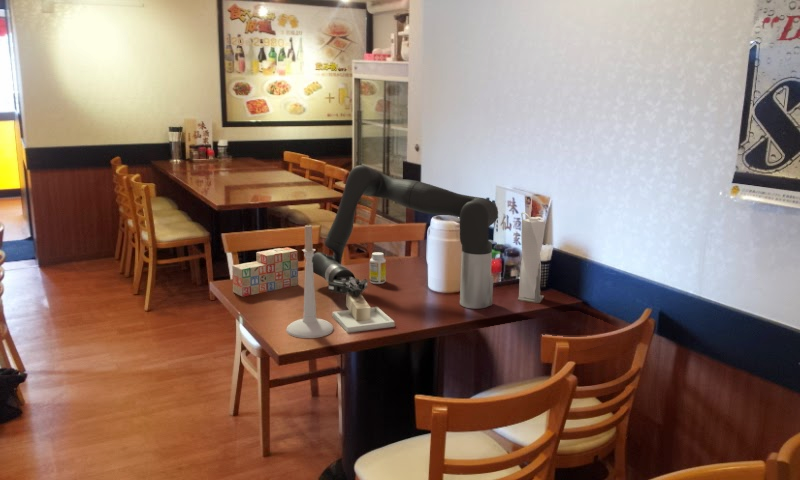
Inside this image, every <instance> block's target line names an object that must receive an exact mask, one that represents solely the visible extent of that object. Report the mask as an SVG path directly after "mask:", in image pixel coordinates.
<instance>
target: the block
mask: <svg viewBox="0 0 800 480" xmlns="http://www.w3.org/2000/svg"><path fill="white" fill-rule="evenodd" d="M345 299H346V300H345V307H346V308H347V310H349V311H350V312H351V314H352V315H353V317H354V318H355V320H356V321H364V320H370V307H371V306H370V305H369V303H368V302H367V301H366V299H365V297H364V296H363V294H361V295H360V296H357V297H354V296H353V295H351V294H350V293H346V298H345Z"/></svg>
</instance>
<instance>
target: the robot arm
mask: <svg viewBox="0 0 800 480" xmlns="http://www.w3.org/2000/svg"><path fill="white" fill-rule="evenodd" d="M362 196H367V197H368V196H369V197H374V198H375V197H376V198H381V199H387V200H390V201H393V202H395V203H397V204H398V205H400V206H403V207H404V208H407V209H409V210H414V211H416V212H420V213H425V214H428V215H439V216H441V215H442V216H453V217H456V218H459V242H460V244H461V260H460V261H461V262H460V263H461V265H460V290H459V291H460V292H459V305H460V306H462V307H463V308H468V309H474V310H475V309H476V310H477V309H478V310H479V309H486V308H488V307H490V306H492V305H493V294H494V293H493V291H494V290H493V289H494V276H493V275H492V258H493V257H492V256H493V255H492V254H493V252H492V251H493V243H492V242H491V241H490V240H489V227H490V226H492V225H494V223H495V222H496V221H497V219H498V217H499V211H498V207H497V206H496V204H495V203H494V202H493V201H491V200H490V199H488V198H485V197H478V196H471V195H466V194H460V193H457V192H454V191H452V190H448V189H445V188H443V187H439V186H435V185H433V184H430V183H426V182H423V181H419V180H415V179H413V180H412V179H405V178H404V179H401V178H395V177H392V176H390V175H387V174H384V173H382V172H380V171H377V170H376V169H373V167H372V168H371V167H369V166H365V165H362V164H360V165H356V166H354V167H353V168H352V169H350V172H349V173H348V176H347V178H346V182H345V185H344V189H343V192H342V196H341V199H340V202H339V206H338V209H337V211H336V214H335V216H334V219H333V223H332V224H331V226H330V229H329V230H328V233H327V235H326V237H325V238H324V239H325V240H324V243H323V244H324V246H325V247H327V248H328V249H329V250H330V251H332V252H333V253H332V255H329V254H326V253H324V252H321V251H320V252H314V256H313V257H312V263H313V274H316V275H317V276H319V277H321V278H323V279H324V280H325V281H326V282H327V283H328V291H329V292H330V293H331V292H332V293H337V294H342V295H344V294H347V293H350V294H351V295H353V296H354V297H357V296H360V295H362V293H363V292H364V291H365V289H367V288H368V279H367V278H364V279H361V280H360V279H359V278H357V277H356V276H355V274H354V273H353V272H352V271H351V270H350V269H349V268H347V267H346V266H344V265H342V262H343V261H342V260H343V254H344V251H345V247H346V245H347V243H348V242H349V239H350V237H351V235H352V231H353V228H354V225H355V221H354V220H355V214H356V210H357V208H358V203H359V202H360V199H361V198H362Z"/></svg>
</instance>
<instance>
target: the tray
mask: <svg viewBox="0 0 800 480" xmlns="http://www.w3.org/2000/svg"><path fill="white" fill-rule="evenodd" d="M332 318H333V319H334V320H335V321H336V323H338V324H339V325H340V327H342V328H343V329H344V331H346V333H355V332H363V331H371V330H378V329H379V330H380V329H387V328H395V326H396V325H395V324H396V323H395V320H393V318H391V317H390V316H388V314H386V313H385V312H384V311H383V310H382V309H380V307H378V306H372V307H371V306H370V320H364V321H356V320H355V318H354V317H353V315H352V314H351V312H350V311H349V309H344V310H336V311H332Z"/></svg>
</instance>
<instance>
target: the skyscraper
mask: <svg viewBox="0 0 800 480" xmlns="http://www.w3.org/2000/svg"><path fill="white" fill-rule="evenodd" d="M520 214H521V216H520V217H521V234H520V236H521V239H520V240H521V253H522V255H521V262H520V270H519V281H518V282H519V285H518V298H517V301H520V302H528V303H535V304H540V303H541V302H542V301H543V299H544V297H545V296H544V295H541V282H542V281H541V280H542V277H541V276H542V275H541V274H542V263H541V262H542V261H541V251H542V248H543V242H544V236H545V231H546V230H545V229H546V219H544V218H543V217H540V216H535V217H534V216H531V217H530V215H529V214H528V213H527V212H524V211H522V212H520ZM523 215H526V216H527V217H528V218H527V219H526V218H525V219H524V216H523Z"/></svg>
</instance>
